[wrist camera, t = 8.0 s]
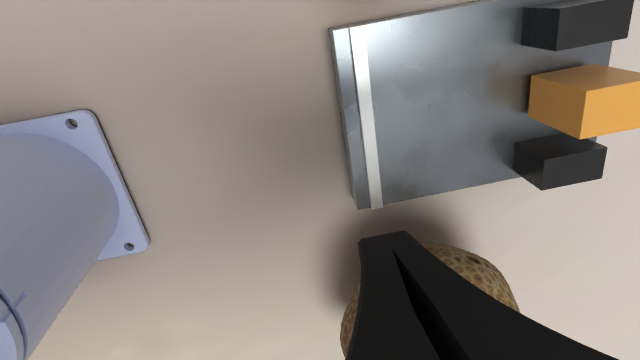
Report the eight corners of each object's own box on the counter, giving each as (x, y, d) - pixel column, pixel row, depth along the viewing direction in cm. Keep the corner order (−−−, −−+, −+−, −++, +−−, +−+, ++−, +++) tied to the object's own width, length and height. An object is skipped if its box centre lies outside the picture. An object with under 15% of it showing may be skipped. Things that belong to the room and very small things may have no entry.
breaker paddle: (528, 116, 19) (579, 139, 16) (531, 75, 18) (586, 91, 15) (586, 104, 19) (649, 125, 16) (592, 63, 18) (660, 76, 15)
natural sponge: (498, 228, 24) (635, 366, 15) (426, 330, 27) (504, 495, 18) (370, 181, 21) (442, 312, 12) (308, 299, 24) (329, 472, 15)
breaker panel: (352, 196, 22) (367, 234, 18) (328, 28, 18) (342, 34, 14) (572, 152, 22) (629, 181, 18) (596, -22, 18) (674, -27, 15)
